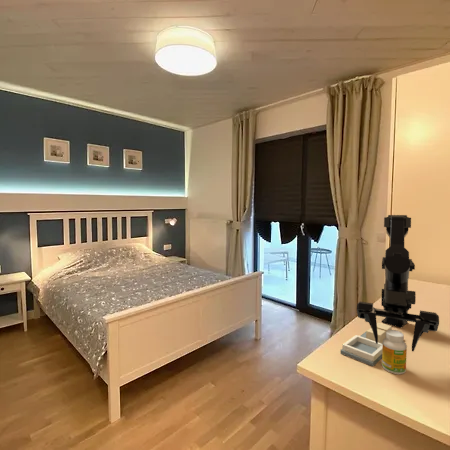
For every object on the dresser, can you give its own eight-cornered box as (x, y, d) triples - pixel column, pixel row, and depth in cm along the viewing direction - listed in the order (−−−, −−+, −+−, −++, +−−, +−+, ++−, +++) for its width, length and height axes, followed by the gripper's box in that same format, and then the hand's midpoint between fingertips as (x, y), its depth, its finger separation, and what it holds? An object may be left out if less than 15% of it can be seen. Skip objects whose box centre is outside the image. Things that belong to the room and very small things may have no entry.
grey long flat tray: (372, 329, 97) (372, 318, 97) (402, 338, 90) (402, 326, 90) (340, 353, 83) (340, 340, 82) (372, 366, 76) (373, 352, 76)
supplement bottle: (393, 376, 72) (395, 339, 71) (377, 364, 77) (378, 329, 76) (411, 372, 73) (412, 336, 72) (393, 361, 78) (394, 327, 77)
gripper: (358, 273, 81) (351, 326, 73) (440, 282, 71) (443, 344, 63) (360, 292, 88) (355, 342, 80) (435, 302, 79) (438, 360, 70)
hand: (394, 346), depth 73 cm, fingers open, 8 cm apart
